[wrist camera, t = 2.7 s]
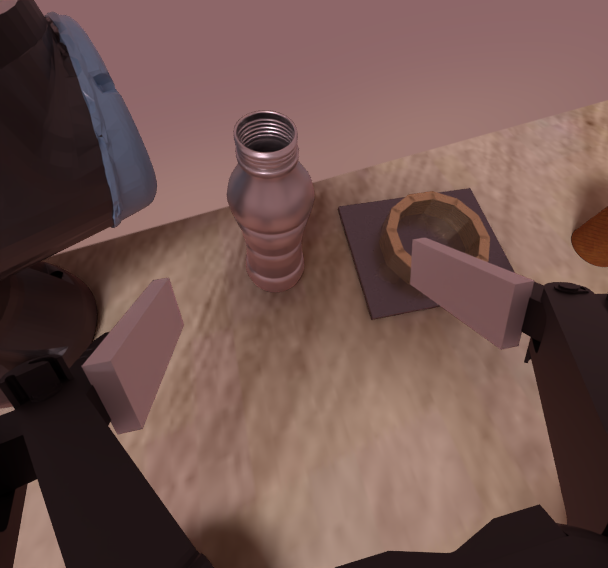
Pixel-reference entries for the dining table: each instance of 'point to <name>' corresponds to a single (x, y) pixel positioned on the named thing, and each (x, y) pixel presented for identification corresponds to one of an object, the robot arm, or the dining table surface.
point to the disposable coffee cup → (593, 239)
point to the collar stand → (398, 243)
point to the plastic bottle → (270, 198)
